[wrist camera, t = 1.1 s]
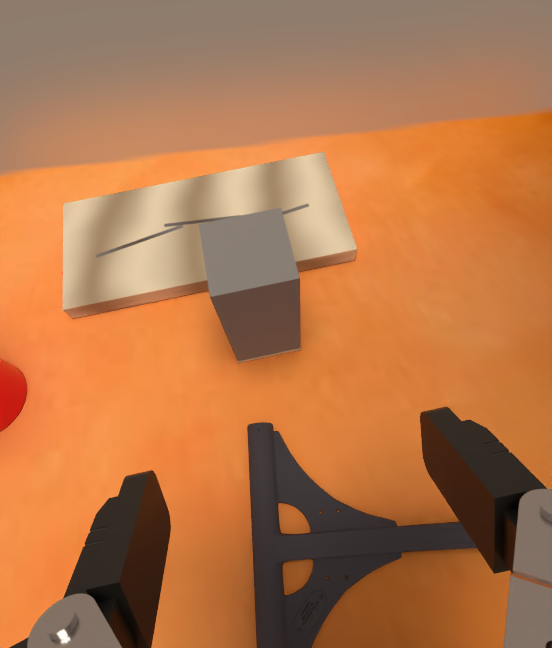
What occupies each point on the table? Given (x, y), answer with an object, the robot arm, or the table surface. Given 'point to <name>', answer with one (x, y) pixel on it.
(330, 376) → the table surface
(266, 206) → the board
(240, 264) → the block
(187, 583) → the table surface
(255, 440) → the squeegee
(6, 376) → the bottle
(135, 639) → the robot arm
